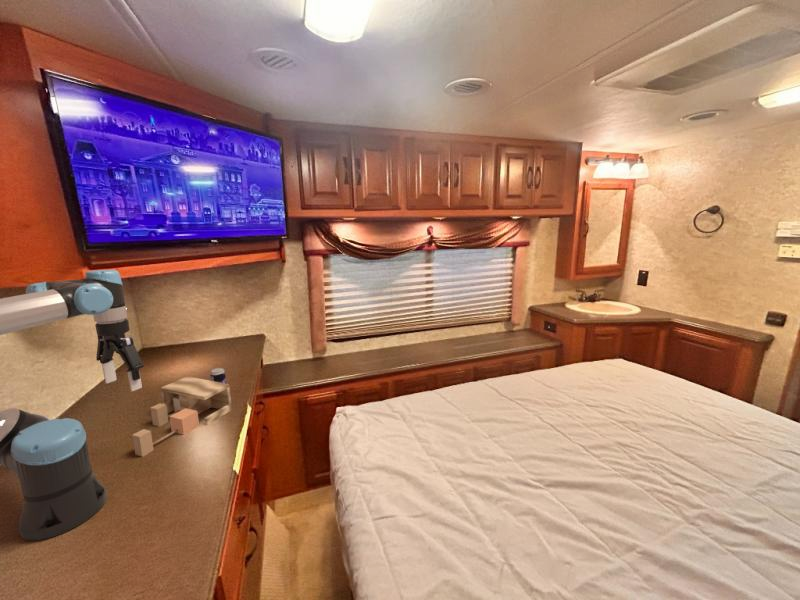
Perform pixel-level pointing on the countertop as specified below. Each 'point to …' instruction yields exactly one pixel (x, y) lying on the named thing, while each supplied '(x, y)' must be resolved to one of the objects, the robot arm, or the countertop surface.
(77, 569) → the countertop surface
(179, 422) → the tether block terracotta
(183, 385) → the shelf
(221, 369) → the beverage can
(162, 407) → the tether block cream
